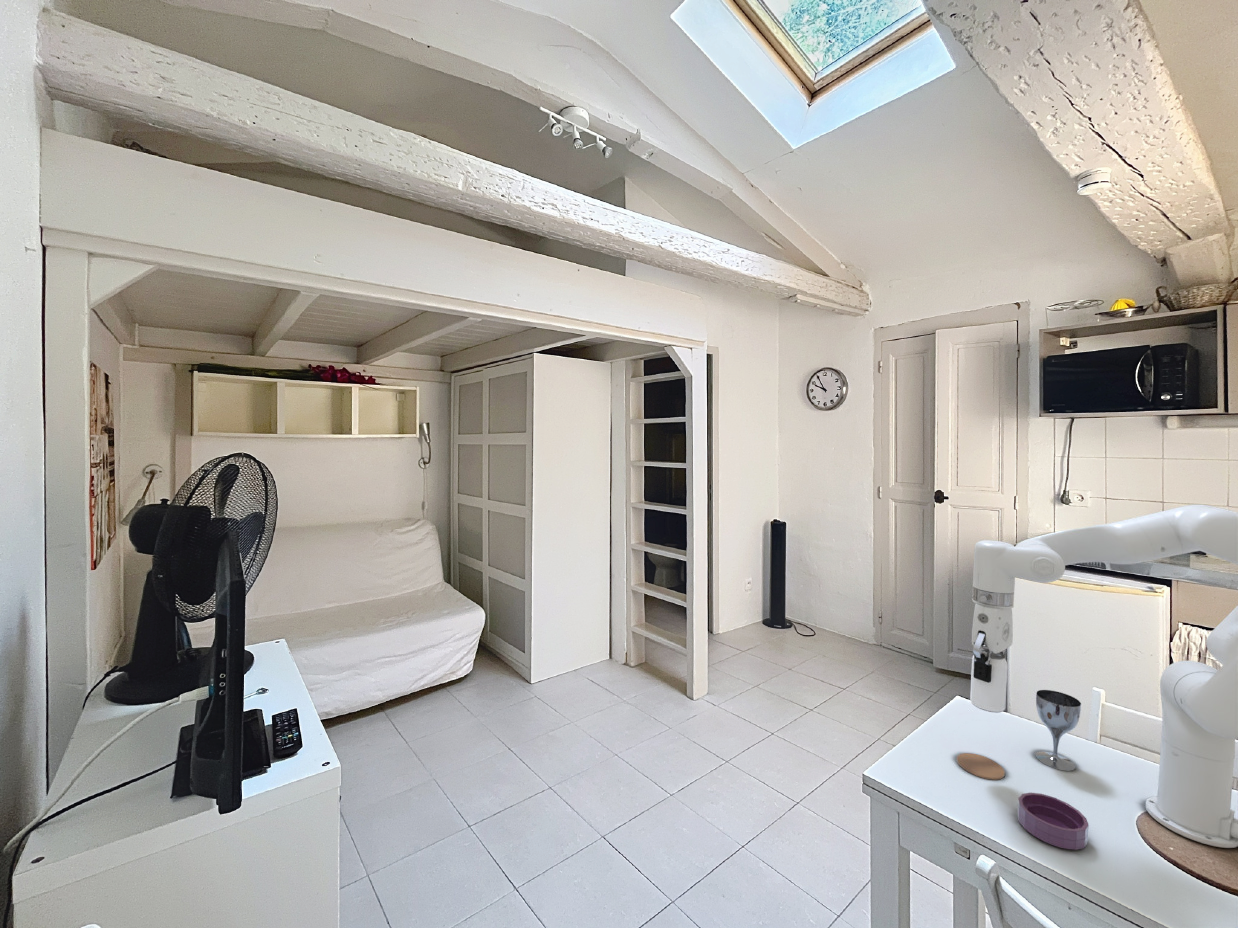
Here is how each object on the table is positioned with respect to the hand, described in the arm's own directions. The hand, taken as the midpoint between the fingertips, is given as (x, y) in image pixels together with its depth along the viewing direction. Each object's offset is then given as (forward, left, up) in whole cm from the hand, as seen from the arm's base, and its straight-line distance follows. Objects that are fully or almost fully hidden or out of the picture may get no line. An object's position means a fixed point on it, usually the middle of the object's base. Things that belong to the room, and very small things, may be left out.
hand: (988, 674), depth 117 cm
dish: (-15, +10, -22) cm, 29 cm away
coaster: (+1, -1, -22) cm, 22 cm away
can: (0, 0, -7) cm, 7 cm away
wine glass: (-8, -18, -22) cm, 30 cm away
